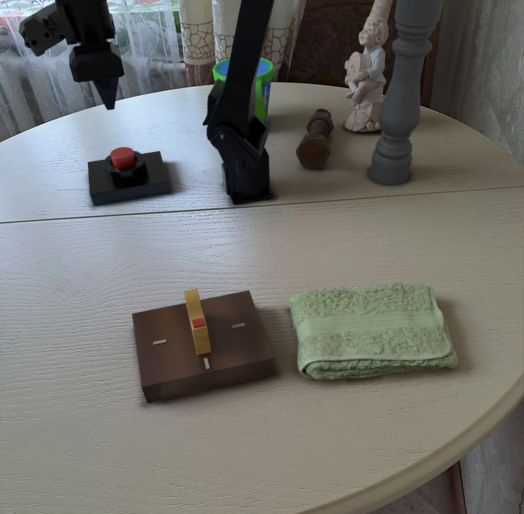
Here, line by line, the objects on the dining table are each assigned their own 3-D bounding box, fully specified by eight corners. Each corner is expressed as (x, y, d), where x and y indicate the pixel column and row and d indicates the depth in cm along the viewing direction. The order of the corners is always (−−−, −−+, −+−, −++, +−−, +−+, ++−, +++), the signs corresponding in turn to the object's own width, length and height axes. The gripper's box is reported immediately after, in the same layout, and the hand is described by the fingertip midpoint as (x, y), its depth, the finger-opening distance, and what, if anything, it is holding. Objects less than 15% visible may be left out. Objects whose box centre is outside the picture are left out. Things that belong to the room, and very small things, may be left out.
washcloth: (461, 374, 54) (469, 355, 52) (299, 387, 54) (300, 368, 51) (425, 292, 63) (431, 272, 60) (286, 303, 62) (286, 283, 60)
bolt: (325, 136, 93) (315, 176, 83) (302, 121, 92) (290, 160, 82) (343, 109, 89) (336, 148, 79) (319, 93, 88) (309, 130, 78)
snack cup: (212, 110, 98) (206, 53, 90) (264, 104, 99) (263, 47, 92) (225, 148, 88) (220, 88, 80) (283, 140, 89) (284, 80, 82)
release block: (162, 162, 85) (158, 140, 82) (170, 193, 79) (166, 170, 76) (91, 174, 84) (84, 151, 81) (93, 206, 77) (86, 183, 74)
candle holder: (365, 180, 80) (391, -5, 61) (374, 161, 84) (402, -19, 65) (404, 187, 78) (443, -1, 59) (411, 168, 82) (451, -15, 63)
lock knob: (188, 316, 57) (183, 289, 54) (201, 314, 57) (196, 286, 54) (197, 355, 53) (192, 328, 50) (211, 352, 53) (206, 325, 50)
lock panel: (250, 307, 62) (249, 288, 59) (274, 375, 55) (274, 356, 53) (137, 330, 60) (131, 312, 57) (147, 404, 53) (140, 386, 50)
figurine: (373, 111, 96) (391, -14, 81) (398, 129, 91) (422, -1, 76) (333, 121, 94) (343, -6, 79) (356, 140, 89) (372, 8, 73)
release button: (134, 155, 80) (132, 145, 79) (137, 166, 78) (134, 156, 76) (112, 159, 80) (109, 148, 78) (113, 170, 77) (110, 159, 76)
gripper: (13, -35, 65) (54, 90, 77) (2, 7, 53) (52, 147, 65) (99, -43, 67) (126, 81, 79) (107, -4, 55) (138, 135, 67)
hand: (110, 108), depth 72 cm, fingers closed
